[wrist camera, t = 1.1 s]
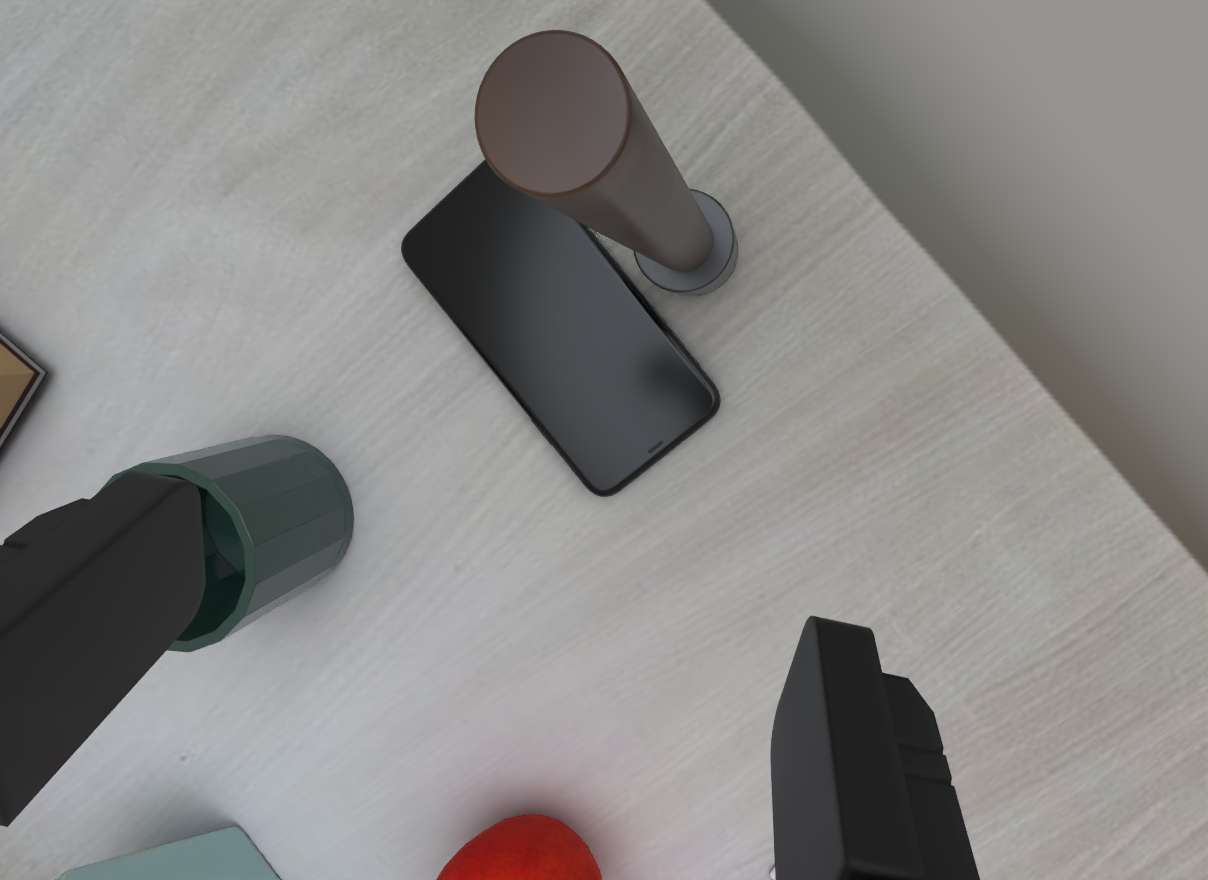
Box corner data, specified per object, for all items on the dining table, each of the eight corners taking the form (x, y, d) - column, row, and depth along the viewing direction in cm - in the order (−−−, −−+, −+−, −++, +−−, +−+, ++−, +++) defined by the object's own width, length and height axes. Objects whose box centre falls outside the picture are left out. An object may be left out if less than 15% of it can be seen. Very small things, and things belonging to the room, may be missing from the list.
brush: (672, 193, 40) (479, -72, 13) (752, 227, 40) (732, 28, 12) (637, 275, 41) (385, 191, 13) (716, 309, 40) (620, 294, 13)
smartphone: (396, 247, 43) (602, 504, 42) (389, 246, 42) (599, 507, 42) (516, 136, 41) (731, 402, 41) (510, 131, 40) (730, 404, 40)
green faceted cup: (237, 409, 45) (111, 431, 37) (375, 475, 44) (281, 514, 36) (190, 547, 47) (59, 600, 38) (323, 613, 46) (220, 683, 37)
